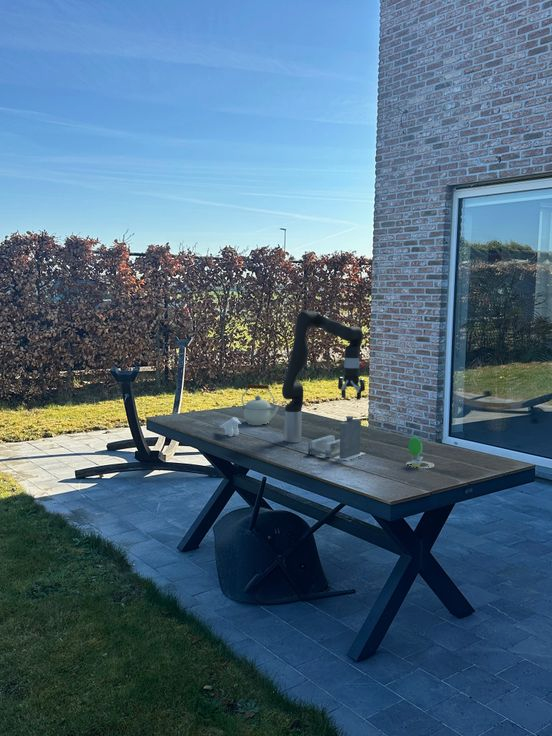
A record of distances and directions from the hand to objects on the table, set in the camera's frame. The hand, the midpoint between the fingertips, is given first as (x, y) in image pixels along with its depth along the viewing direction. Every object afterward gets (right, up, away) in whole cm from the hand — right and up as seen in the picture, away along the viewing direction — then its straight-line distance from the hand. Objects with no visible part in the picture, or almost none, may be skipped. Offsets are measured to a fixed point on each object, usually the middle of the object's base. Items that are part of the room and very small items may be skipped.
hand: (351, 398), depth 316 cm
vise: (-10, -29, +11) cm, 32 cm away
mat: (0, -30, +3) cm, 30 cm away
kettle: (-48, -20, +86) cm, 101 cm away
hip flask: (0, -29, +3) cm, 29 cm away
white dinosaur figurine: (-65, -24, +52) cm, 86 cm away
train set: (+32, -32, -11) cm, 47 cm away
